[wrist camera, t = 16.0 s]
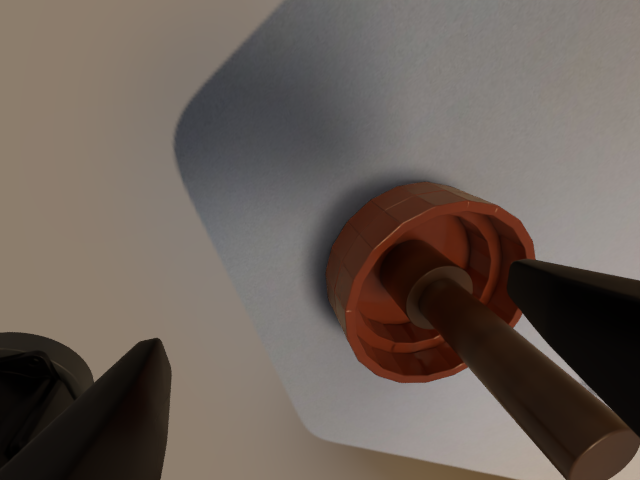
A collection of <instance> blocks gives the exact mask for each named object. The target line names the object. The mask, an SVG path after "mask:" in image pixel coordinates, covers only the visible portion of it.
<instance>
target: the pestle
mask: <svg viewBox="0 0 640 480" xmlns="http://www.w3.org/2000/svg"><path fill="white" fill-rule="evenodd" d="M380 280H381V283H382V285H383V287H384V288H385V289H386V291H387V292H388V293H389V294H390V296H391V297H392V298H393V300H394V301H395V302H396V303H397V305H398V306H399V307H400V308H401V310H402V311H403V312H404V313H405V315H406V316H407V317H408V318H409V320H410V321H411V322H412V323H413V324H414V325H416V326H418V327H420V328H423V329H436V331H437V332H438V333H439V334H440V335H441V336H442V338H443V339H444V340H445V341H446V342H447V343H448V344H449V346H450V347H451V348H452V349H453V350H454V351H455V352H456V354H457V355H458V356H459V357H460V358H461V359H462V360H463V362H464V363H465V364H466V365H467V366H468V367H469V369H470V370H471V371H472V372H473V373H474V374H475V375H476V377H477V378H478V379H479V380H480V381H481V382H482V383H483V385H484V386H485V387H486V388H487V389H488V390H489V392H490V393H491V394H492V395H493V396H494V397H495V398H496V400H497V401H498V402H499V403H500V404H501V405H502V406H503V408H504V409H505V410H506V411H507V412H508V413H509V415H510V416H511V417H512V418H513V419H514V420H515V421H516V423H517V424H518V425H519V426H520V427H521V428H522V429H523V431H524V432H525V433H526V434H527V435H528V436H529V437H530V439H531V440H532V441H533V442H534V443H535V444H536V446H537V447H538V448H539V449H540V450H541V451H542V452H543V454H544V455H545V456H546V457H547V458H548V459H549V460H550V462H551V463H552V464H553V465H554V466H555V467H556V469H557V470H558V471H559V472H560V473H561V474H562V475H563V477H564V478H565V479H566V480H608V479H610V478H611V477H613V476H614V475H616V474H617V473H618V472H620V471H621V470H622V469H623V468H624V467H625V466H626V465H627V464H628V463H629V462H630V461H631V460H632V458H633V457H634V456H635V454H636V452H637V451H638V448H639V446H640V438H639V437H638V436H637V435H636V434H635V433H634V432H633V431H632V430H631V429H630V428H629V427H628V426H627V425H626V424H625V423H624V422H623V421H622V420H621V418H620V417H619V416H618V415H617V414H616V413H615V412H613V411H612V410H611V409H610V408H609V407H607V406H606V405H605V404H604V403H603V402H601V401H600V400H599V399H598V398H597V397H595V396H594V395H593V394H592V393H590V392H589V391H588V390H587V389H586V388H584V387H583V386H582V385H581V384H580V383H578V382H577V381H576V380H575V379H574V378H572V377H571V376H570V375H569V374H567V373H566V372H565V371H564V370H563V369H561V368H560V367H559V366H558V365H557V364H555V363H554V362H553V361H552V360H551V359H549V358H548V357H547V356H546V355H545V354H543V353H542V352H541V351H540V350H538V349H537V348H536V347H535V346H534V345H532V344H531V343H530V342H529V341H528V340H526V339H525V338H524V337H523V336H522V335H520V334H519V333H518V332H517V331H516V330H514V329H513V328H512V327H511V326H509V325H508V324H507V323H506V322H505V321H503V320H502V319H501V318H500V317H499V316H497V315H496V314H495V313H494V312H493V311H491V310H490V309H489V308H488V307H486V306H485V305H484V304H483V303H482V302H480V301H479V300H478V299H477V298H476V297H474V296H473V295H472V293H473V284H472V280H471V278H470V276H469V275H468V273H467V272H466V271H465V270H463V269H462V268H461V267H459V266H458V265H457V264H455V263H454V262H453V261H451V260H450V259H449V258H447V257H446V256H445V255H443V254H442V253H441V252H439V251H438V250H437V249H435V248H434V247H433V246H431V245H430V244H428V243H427V242H424V241H421V240H410V241H406V242H403V243H401V244H399V245H397V246H396V247H394V248H393V249H392V250H391V251H390V252H389V253H388V254H387V256H386V257H385V259H384V260H383V263H382V265H381V269H380Z"/></svg>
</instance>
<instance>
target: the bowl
mask: <svg viewBox="0 0 640 480" xmlns="http://www.w3.org/2000/svg"><path fill="white" fill-rule="evenodd" d="M410 240H421V241H424V242H427V243H428V244H430V245H431V246H433V247H434V248H435V249H437V250H438V251H439V252H441V253H442V254H443V255H445V256H446V257H447V258H449V259H450V260H451V261H453V262H454V263H455V264H457V265H458V266H459V267H461V268H462V269H463V270H465V271H466V272H467V273H468V275H469V276H470V278H471V280H472V284H473V293H472V295H473V296H474V297H476V298H477V299H478V300H479V301H480V302H482V303H483V304H484V305H485V306H486V307H488V308H489V309H490V310H491V311H493V312H494V313H495V314H496V315H497V316H499V317H500V318H501V319H502V320H503V321H505V322H506V323H507V324H508V325H509V326H511V327H512V328H513V327H514V326H515V325H516V324H517V322H518V321H519V319H520V318H521V315H522V312H521V311H520V309H519V308H518V307H517V306H516V305H515V303H514V302H513V301H512V300H511V298H510V297H509V295H508V293H507V289H506V286H507V280H508V274H509V267H510V265H511V263H512V262H514V261H517V260H521V259H533V260H536V259H535V252H534V244H533V241H532V239H531V237H530V236H529V234H528V232H527V231H526V229H525V227H524V226H523V224H522V222H521V221H520V220H519V219H518V218H516V217H515V216H513V215H512V214H510V213H509V212H507V211H506V210H504V209H503V208H501V207H500V206H498V205H495V204H493V203H491V202H488V201H486V200H483V199H481V198H478V197H476V196H473V195H471V194H469V193H466V192H464V191H461V190H459V189H456V188H454V187H451V186H447V185H441V184H436V183H431V182H420V183H414V184H408V185H402V186H397V187H395V188H393V189H391V190H389V191H387V192H385V193H383V194H381V195H379V196H377V197H375V198H373V199H371V200H370V201H369V202H368V203H367V204H365V205H364V206H363V207H362V208H361V209H360V210H359V211H358V212H357V213H356V214H355V215H354V216H353V217H351V218H350V219H349V220H348V222H347V223H346V224H345V226H344V228H343V229H342V231H341V233H340V234H339V236H338V238H337V239H336V241H335V243H334V244H333V246H332V248H331V252H330V257H329V261H328V265H327V269H326V274H325V275H326V285H327V295H328V300H329V302H330V304H331V306H332V308H333V310H334V312H335V315H336V317H337V319H338V321H339V323H340V325H341V327H342V329H343V332H344V334H345V336H346V338H347V340H348V342H349V344H350V346H351V348H352V350H353V351H354V353H355V355H356V357H357V359H358V361H359V362H361V363H362V364H363V365H364V366H366V367H367V368H368V369H369V370H371V371H372V372H373V373H374V374H376V375H378V376H380V377H383V378H386V379H390V380H393V381H396V382H399V383H426V382H430V381H434V380H438V379H441V378H445V377H449V376H452V375H455V374H456V373H458V372H460V371H462V370H464V369H466V368H468V366H467V365H466V364H465V363H464V362H463V360H462V359H461V358H460V357H459V356H458V355H457V354H456V352H455V351H454V350H453V349H452V348H451V347H450V346H449V344H448V343H447V342H446V341H445V340H444V339H443V338H442V336H441V335H440V334H439V333H438V332H437V331H436V329H423V328H420V327H418V326H416V325H414V324H413V323H412V322H411V321H410V320H409V318H408V317H407V316H406V315H405V313H404V312H403V311H402V310H401V308H400V307H399V306H398V305H397V303H396V302H395V301H394V300H393V298H392V297H391V296H390V294H389V293H388V292H387V291H386V289H385V288H384V287H383V285H382V283H381V280H380V269H381V265H382V263H383V260H384V259H385V257H386V256H387V254H388V253H389V252H390V251H391V250H392V249H393V248H394V247H396V246H397V245H399V244H401V243H403V242H406V241H410Z"/></svg>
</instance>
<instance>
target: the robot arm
mask: <svg viewBox="0 0 640 480" xmlns="http://www.w3.org/2000/svg"><path fill="white" fill-rule="evenodd" d="M506 289H507V293H508V295H509V297H510V298H511V300H512V301H513V302H514V303H515V305H516V306H517V307H518V308H519V309H520V311H521V312H522V313H523V314H524V316H525V317H526V318H527V319H528V320H529V322H530V323H531V324H532V325H533V327H534V328H535V329H536V330H537V332H538V333H539V334H540V335H541V336H542V337H543V339H544V340H545V341H546V342H547V343H548V344H549V345H550V346H551V347H552V349H553V350H554V351H555V352H556V353H557V354H558V355H559V356H560V357H561V358H562V359H563V360H564V361H565V362H566V363H567V364H568V365H569V366H570V367H571V368H572V369H573V370H574V371H575V372H576V373H577V374H578V375H579V376H580V377H581V378H582V379H583V380H584V381H585V383H586V384H587V385H588V386H589V387H590V388H591V389H592V390H593V391H594V392H595V393H596V394H597V395H598V396H599V397H600V398H601V399H602V400H603V401H604V402H605V403H606V404H607V405H608V406H609V407H610V408H611V409H612V410H613V411H614V412H615V413H616V414H617V415H618V416H619V417H620V418H621V420H622V421H623V422H624V423H625V424H626V425H627V426H628V427H629V428H630V429H631V430H632V431H633V432H634V433H635V434H636V435H637V436H638V437H639V438H640V281H639V280H634V279H629V278H624V277H619V276H614V275H609V274H604V273H599V272H594V271H589V270H584V269H579V268H574V267H569V266H564V265H558V264H553V263H548V262H543V261H538V260H533V259H521V260H517V261H514V262H512V263H511V265H510V267H509V274H508V280H507V286H506ZM34 359H38V360H39V361H36V360H34ZM171 376H172V375H171V366H170V363H169V360H168V357H167V355H166V352H165V349H164V346H163V344H162V341H161V340H160V339H158V338H153V339H149V340H144V341H140V342H138V343H137V344H136V345H135V346H134V347H133V348H132V349H131V350H129V351H128V352H127V353H126V354H125V355H124V356H123V357H122V358H121V359H120V360H119V361H118V362H116V363H115V364H114V365H113V366H112V367H111V368H110V369H109V370H108V371H107V372H105V373H104V374H103V375H102V376H101V377H100V378H99V379H98V380H97V381H96V382H95V383H94V384H92V385H91V386H90V387H89V388H88V389H87V390H86V391H85V392H84V393H83V394H82V395H80V396H79V397H78V398H77V399H76V400H75V401H74V400H73V398H72V396H71V395H70V393H69V391H68V389H67V387H66V385H65V384H64V382H63V381H62V380H61V378H60V376H59V375H58V373H57V371H56V369H55V367H54V366H53V364H52V362H51V360H50V358H49V356H48V355H47V354H46V353H45V352H43V351H39V350H35V351H30V352H25V353H20V354H15V355H11V356H6V357H1V358H0V480H160V479H161V473H162V467H163V462H164V456H165V451H166V444H167V435H168V420H169V406H170V392H171Z"/></svg>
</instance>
